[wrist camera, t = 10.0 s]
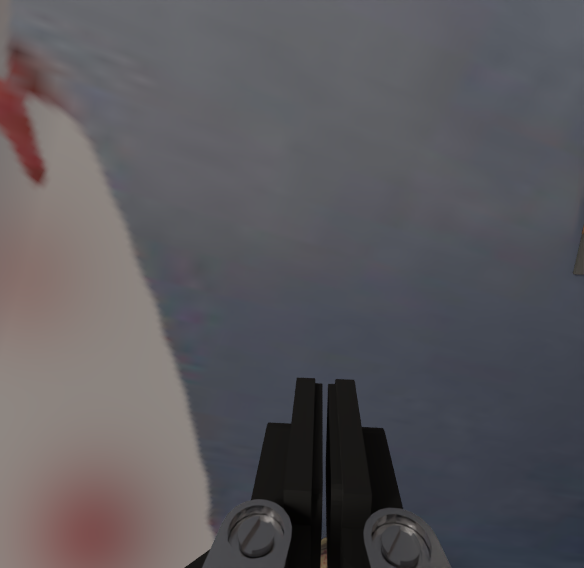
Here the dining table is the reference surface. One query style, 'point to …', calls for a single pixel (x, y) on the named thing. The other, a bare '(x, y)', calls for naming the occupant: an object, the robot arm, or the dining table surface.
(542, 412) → the dining table surface
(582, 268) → the strip
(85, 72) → the dining table surface
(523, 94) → the dining table surface
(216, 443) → the dining table surface
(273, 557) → the robot arm
